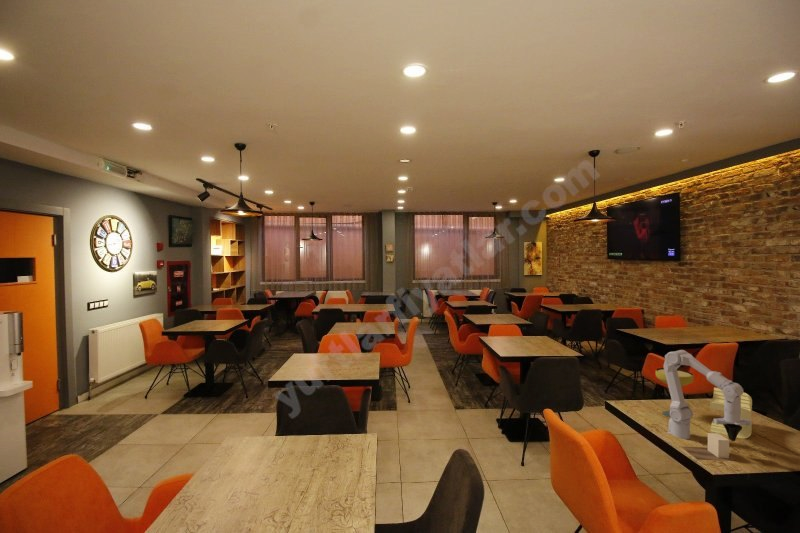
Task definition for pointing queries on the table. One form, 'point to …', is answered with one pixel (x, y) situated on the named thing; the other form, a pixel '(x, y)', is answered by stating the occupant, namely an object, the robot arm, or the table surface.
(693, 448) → the brown flat slab
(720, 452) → the carton
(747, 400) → the slatted curved stool
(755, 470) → the table surface
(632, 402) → the table surface
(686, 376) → the cocktail glass
